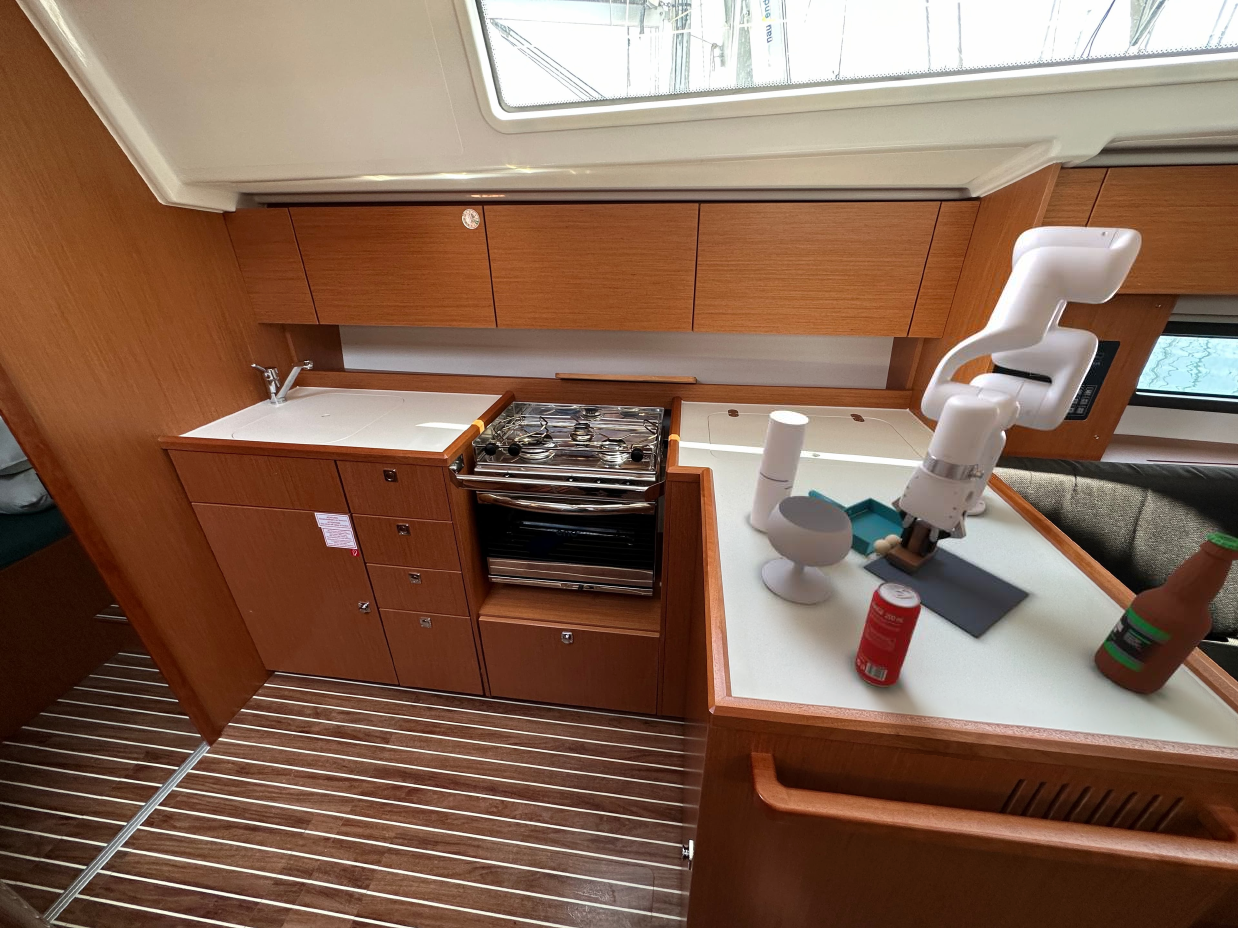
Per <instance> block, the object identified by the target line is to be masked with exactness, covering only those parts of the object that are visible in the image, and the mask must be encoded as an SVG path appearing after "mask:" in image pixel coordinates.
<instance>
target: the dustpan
mask: <svg viewBox="0 0 1238 928" xmlns="http://www.w3.org/2000/svg"><path fill="white" fill-rule="evenodd" d="M807 495H808V496H809V497H814V498H819V499H822V500H825V501H827V502H830V503H832V504H834V505H836V506H838V507H839V508H840V509H842V510H843V511H844V512H845V513H846V514H847V516H848V517H849V519H850V522H851V525H852V534H853V538H852V546H851V549H852V550H854V551H855V552H857V553H858V554H860V555H862V556H863V557H866V556H868V555H870V554H871V553H874V552H876V551H875V550H874V543H875V542H876V541H877V540H885V538H886V537H887V536H889V535H896V536H898V537H899V538H900V537H901V534H902V531H903V529H904V526H903V525H902V524H903V521H902V519H901V517H900V515H899V512H897V511H896V509H895V508H894V507H890V506H888V505H886V504H884V503H882V502H881V501H878V500H876V499H874V498H872V497H868V498H866V499H863V500H861V501H858V502H856V503H854V504H852V505H850V506H844V505H843V504H841V503H839V502H838V501H835V500H834V499H832V498H830V497H828V496H827V495H824V494H822V493H820V492H819V491H817V490H815V489H810V490H809V491H808V493H807ZM900 539H901V538H900Z"/></svg>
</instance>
